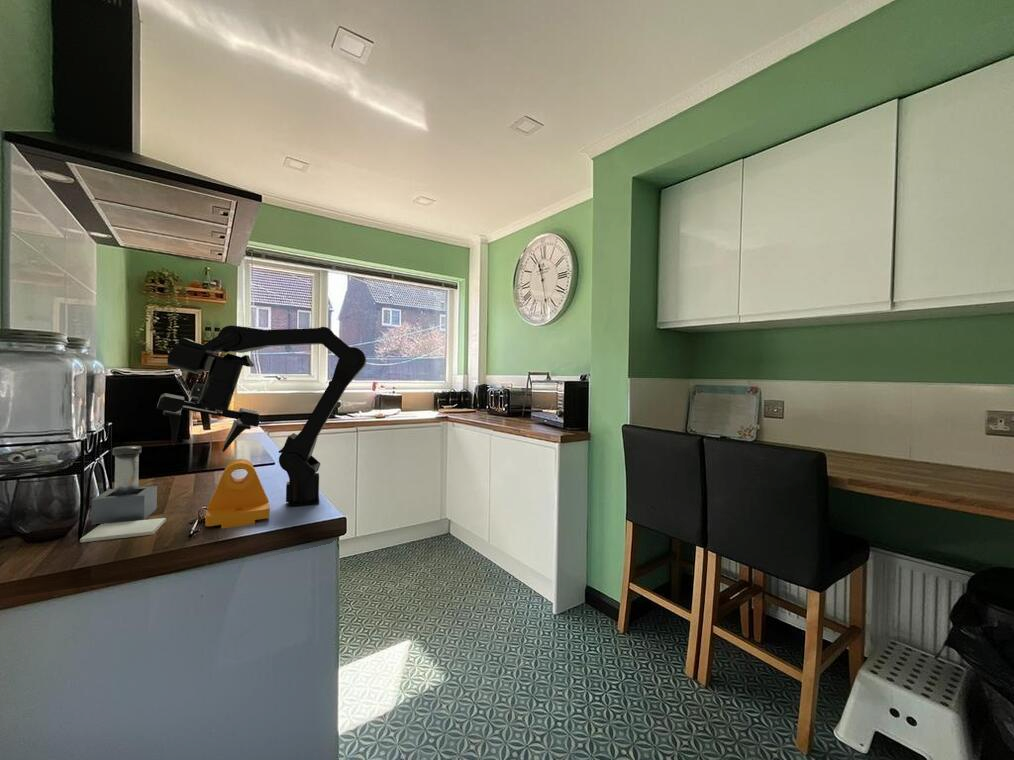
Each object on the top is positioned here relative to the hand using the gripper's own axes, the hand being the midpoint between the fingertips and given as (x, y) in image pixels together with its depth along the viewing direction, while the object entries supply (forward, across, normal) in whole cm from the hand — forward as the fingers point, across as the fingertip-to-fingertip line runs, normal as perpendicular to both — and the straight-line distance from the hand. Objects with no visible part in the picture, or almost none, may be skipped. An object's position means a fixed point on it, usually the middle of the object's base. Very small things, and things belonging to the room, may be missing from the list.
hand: (198, 448), depth 93 cm
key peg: (+14, +9, 0) cm, 16 cm away
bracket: (+10, -9, +16) cm, 21 cm away
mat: (+15, +8, +11) cm, 20 cm away
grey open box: (+16, +8, 0) cm, 18 cm away
